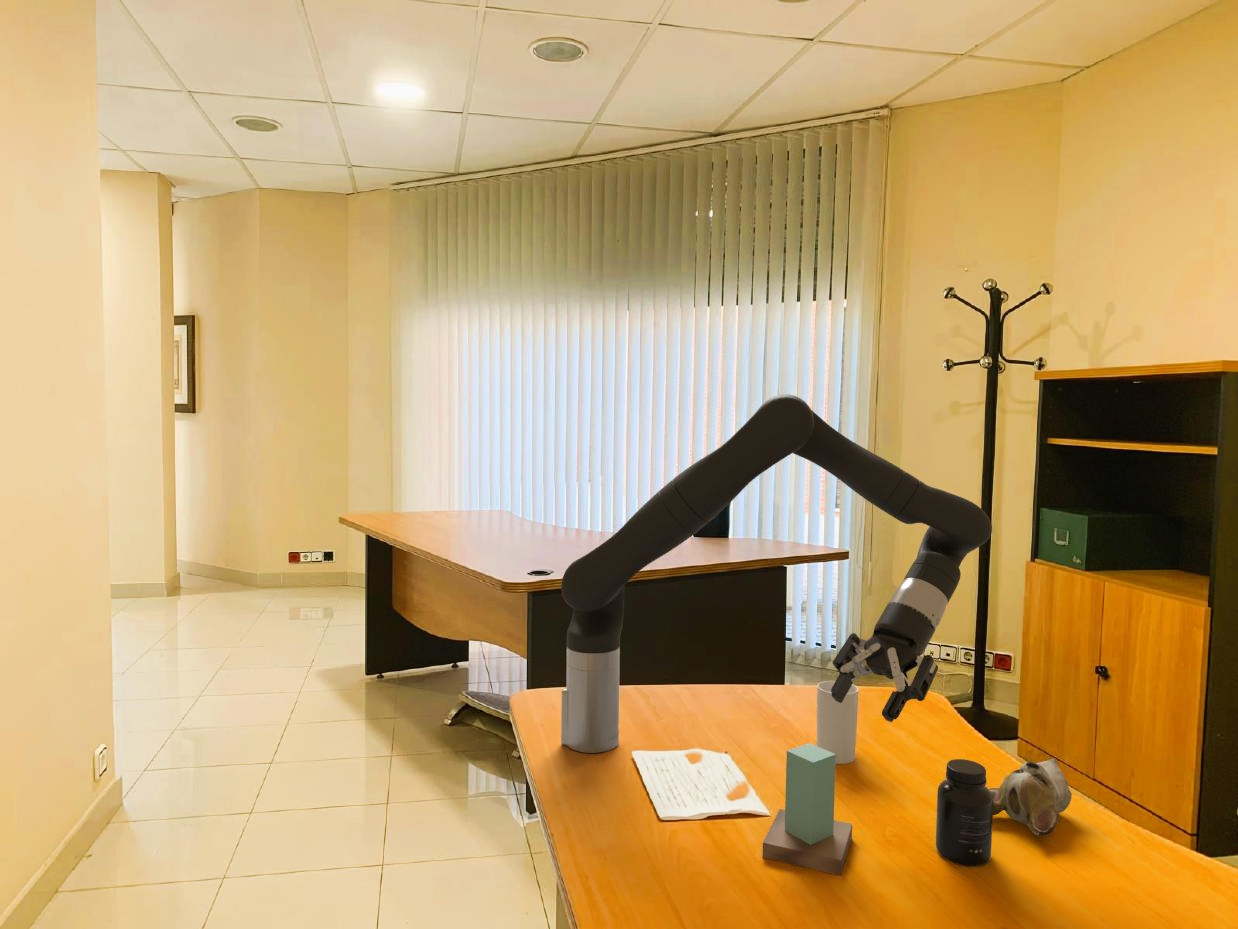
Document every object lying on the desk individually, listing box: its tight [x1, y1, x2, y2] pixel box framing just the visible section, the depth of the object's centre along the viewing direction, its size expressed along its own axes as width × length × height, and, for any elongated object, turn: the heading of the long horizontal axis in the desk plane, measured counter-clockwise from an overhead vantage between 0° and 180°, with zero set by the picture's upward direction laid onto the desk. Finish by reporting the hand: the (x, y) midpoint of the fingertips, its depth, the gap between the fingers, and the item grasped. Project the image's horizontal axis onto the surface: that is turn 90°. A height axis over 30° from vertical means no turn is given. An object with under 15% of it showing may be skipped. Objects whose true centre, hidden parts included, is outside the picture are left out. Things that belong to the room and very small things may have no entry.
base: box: [762, 808, 853, 876], centre depth 110 cm, size 10×10×2 cm
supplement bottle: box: [935, 758, 994, 867], centre depth 108 cm, size 7×7×12 cm
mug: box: [816, 680, 859, 765], centre depth 140 cm, size 10×7×12 cm, turn 148°
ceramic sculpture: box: [988, 757, 1073, 837], centre depth 118 cm, size 11×9×15 cm
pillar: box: [784, 742, 836, 845], centre depth 109 cm, size 4×4×11 cm
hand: (860, 708), depth 115 cm, fingers open, 8 cm apart
